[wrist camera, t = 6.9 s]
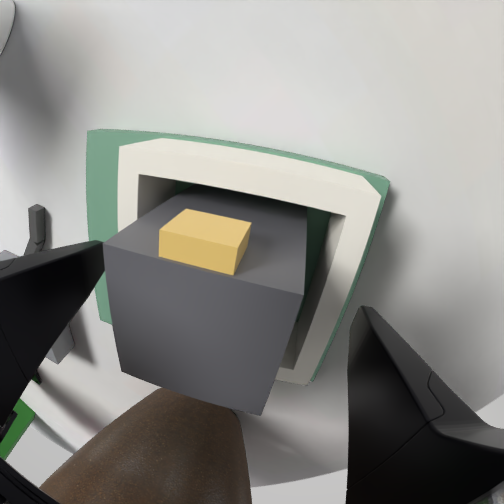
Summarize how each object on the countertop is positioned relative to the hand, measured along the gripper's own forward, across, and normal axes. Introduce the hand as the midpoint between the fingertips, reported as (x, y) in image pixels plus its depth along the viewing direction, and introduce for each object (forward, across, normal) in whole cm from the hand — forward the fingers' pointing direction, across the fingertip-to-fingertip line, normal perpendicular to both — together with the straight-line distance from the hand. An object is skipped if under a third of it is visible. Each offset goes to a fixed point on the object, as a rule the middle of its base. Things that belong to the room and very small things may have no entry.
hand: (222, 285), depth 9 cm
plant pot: (+4, +2, +16) cm, 16 cm away
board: (+4, +2, +2) cm, 5 cm away
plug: (+3, 0, 0) cm, 3 cm away
